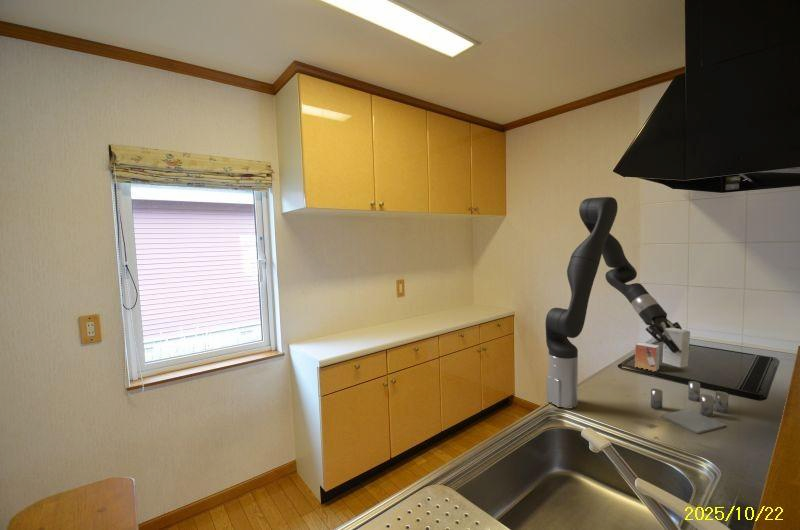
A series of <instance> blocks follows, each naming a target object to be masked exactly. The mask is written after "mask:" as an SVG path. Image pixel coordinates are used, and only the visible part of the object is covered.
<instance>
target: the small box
mask: <svg viewBox="0 0 800 530" xmlns="http://www.w3.org/2000/svg"><path fill="white" fill-rule="evenodd" d="M660 346H661V345H660V344H653V343H652V344H651V343H644V342H640V341H639V342H637V343H636V344H635V349H634V350H635V354H634V368H636V367H638V369H641V368H643V369H642V370H646V369H648V370H647V371H650V370H652V371H651V372H654V371H656V372H657V371H658V370H659V369H660V351H661V349H660Z"/></svg>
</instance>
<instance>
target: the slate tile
mask: <svg viewBox="0 0 800 530" xmlns="http://www.w3.org/2000/svg"><path fill="white" fill-rule="evenodd" d="M659 415H660V417H659V418H661V419H664V420H666V421H668V422H671V423H672V424H674V425H678V426H680V427H682V428H684V429H686V430H689V431H691V432H694V433H695V434H701V433H703V434H704V433H706V432H709V431H713V430H717V428H718V429H721V427H722V428H724V426H727V425H726V423H723V422H720V421H718V420H715V419H713V418H712V417H707V416H703V415H701V414H700V413H699V412H695V411H693V410H690V409H688V408H685V409H682V410H681V409H680V410H677V411H676V410H675V411H673V412H668V413H664V414H659Z"/></svg>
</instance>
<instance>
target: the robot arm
mask: <svg viewBox="0 0 800 530" xmlns="http://www.w3.org/2000/svg"><path fill="white" fill-rule="evenodd" d="M578 212H579V217H580V220H581V221H582V223H583V224H584V226H585V228H586V230H587V231H588V232H589V233H590V234H589V235H588V236H587V238H585V239H584V240H583V241H582V242H581V243H580V244H579V245H578V246H577V247H576V248H575V249H574V251H573V252H572V254H571V255H570V259H569V262H568V266H567V269H566V274H567V275H566V276H567V280H568V284H569V289H570V292H571V296H570V301H569V306H568V308H561V307H552V308H551V309H549V310H548V312H547V314H546V316H545V323H544V324H545V339H546V347H547V348H548V374H547V375H546V377H545V378H546V380H545V381H546V383H545V384H546V389H545V391H546V393H545V394H546V395H545V396H546V399H545V400H546V402H547V403H549V402H550V401H551V400H552V401H551V402H552V403H553V404H555V405H557V406H559V407H569V408H568V409H571V408H570V407H575V408H577V407H578V398H579V397H578V396H579V395H578V390H579V389H578V383H579V382H578V381H579V380H578V375H579V374H578V373H579V372H578V371H579V370H578V368H579V366H578V364H579V360H578V357H579V354H578V353H579V351H578V348H577V347H576V345H574V344H573V343H572V342H571V340H569V338H570V339H575V338H577V337H579V335H580V334H581V333H582V331H583V329H584V325H585V322H586V317H587V311H588V307H589V306H588V305H589V302H590V301H589V300H590V295H591V292H592V290H593V289H592V288H593V285H594V281H595V278H596V276H597V273H598V269H599V266H600V262H601V259H602V258H603V260H604V263H605V265H606V267H608V268H611V269H610V270H608V271H607V272H606V273H605V281H606V282H607V283H608V284H609V285H610V286H611V287H613V288H614V289H616V290H617V291H618V292H620V293H621V294H622V295H623V296H624V297H625V298H626V299H627V300H628V302H629V303H630V305H631V306H632V308H633V309H634V311H635V312H636V313H637V314H638V316H639V317H640V318H641V320H642V322H644V323H645V325H647V327H646V328H645V331H646V332H648V334H650V335H651V336H652V338H653V339H654V340H656V341H657V342H658V343H663V344H666V345H667V346H668V347H669V349H670V350H671V351H672V352H673V353H676V352H678V351H679V348H678V347H677V346H676V345H675V343H674V342H673V341H672V340H671V338H670V336H669V335H668V334H669V333H668V332H667V331H666V329H667V328H677V329H682V330H683V328H682V326H681V325H680V323H679V322H678V321H676V322H671V321H670V320H669V319H668V318H667V317H668V313H667V312H666V310H664V309H663V307H662V306H661V304H659V302H658V301H657V300H656V299H655V297H653V296H652V295H651V294H650V293H649V292H648V291H647V289H646V288H645V287H644V286H643V284H641V283H638V282H636V283H635V282H633V283H630V282H632V281H634V280H635V279H636V277H638V272H637V269H636V268H635V267H634V266H633V265H632V264H631V263H630V262H629V261H628V259H627V257H626V255H625V252H624V249H623V246H622V244H621V243H620V241H619V240H618V239H617V238H616V237H615V236H614V235H612V234H611V233H610V232H611V230H612V227H613V225H614V223H615V220H616V218H617V217H616V216H617V214H618V202H617V199H616V198H614V197H612V196H601V197H589V198H585V199H583V200H582V201H581V203H580V205H579V210H578ZM627 283H630V284H627ZM690 349H691V347H690V346H689V350H690ZM551 402H550V403H551ZM550 403H549V404H550ZM576 406H577V407H576Z"/></svg>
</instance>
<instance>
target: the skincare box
mask: <svg viewBox="0 0 800 530" xmlns="http://www.w3.org/2000/svg"><path fill="white" fill-rule="evenodd" d="M666 331H667V332H668V333H669V334H668V335H669V336H670V338H671V340H672V341H673V342H674V343H675V345H676V346H677V347H678V348H679V351H678V352H676V353H673V352H672V351H671V350H670V349H669V347H668V346H667V345H666V344H664V343H663V345H662V363H663V364H665V365H666V364H667V365H670V366H674V367H677V368H685V367H688V365H689V355H690V354H689V353H690V349H689V347H690V339H691V331H690V330H685V329H683V328H682V329H677V328H667V329H666Z"/></svg>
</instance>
